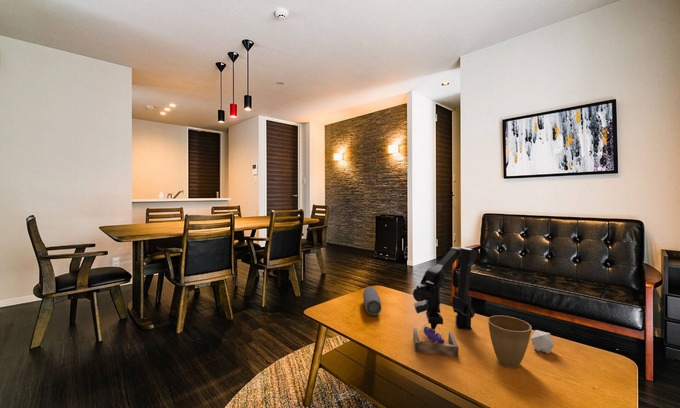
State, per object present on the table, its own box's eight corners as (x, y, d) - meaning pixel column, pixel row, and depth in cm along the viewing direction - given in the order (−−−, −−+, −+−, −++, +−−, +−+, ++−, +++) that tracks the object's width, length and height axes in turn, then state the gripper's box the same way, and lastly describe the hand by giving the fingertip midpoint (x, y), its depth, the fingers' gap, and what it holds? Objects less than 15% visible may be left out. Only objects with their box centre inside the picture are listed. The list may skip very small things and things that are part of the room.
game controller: (452, 335, 129) (440, 338, 122) (444, 353, 130) (431, 356, 123) (432, 319, 137) (419, 321, 130) (424, 336, 138) (411, 339, 131)
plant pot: (529, 359, 118) (531, 320, 118) (530, 378, 106) (531, 335, 105) (488, 348, 126) (489, 312, 126) (484, 365, 114) (485, 324, 113)
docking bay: (451, 340, 133) (452, 331, 132) (458, 356, 119) (458, 347, 119) (413, 336, 136) (413, 328, 136) (415, 352, 123) (415, 342, 122)
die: (555, 351, 126) (542, 328, 131) (562, 350, 119) (548, 326, 124) (536, 356, 127) (523, 333, 132) (542, 356, 120) (528, 331, 125)
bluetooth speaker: (382, 317, 156) (382, 299, 156) (365, 317, 156) (365, 298, 156) (377, 302, 179) (377, 285, 179) (362, 301, 179) (362, 285, 179)
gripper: (414, 289, 146) (413, 320, 147) (416, 303, 127) (416, 338, 128) (437, 290, 144) (436, 321, 145) (443, 305, 125) (443, 341, 126)
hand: (432, 330), depth 136 cm, fingers closed
